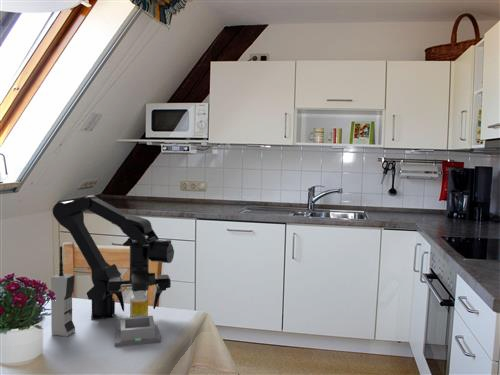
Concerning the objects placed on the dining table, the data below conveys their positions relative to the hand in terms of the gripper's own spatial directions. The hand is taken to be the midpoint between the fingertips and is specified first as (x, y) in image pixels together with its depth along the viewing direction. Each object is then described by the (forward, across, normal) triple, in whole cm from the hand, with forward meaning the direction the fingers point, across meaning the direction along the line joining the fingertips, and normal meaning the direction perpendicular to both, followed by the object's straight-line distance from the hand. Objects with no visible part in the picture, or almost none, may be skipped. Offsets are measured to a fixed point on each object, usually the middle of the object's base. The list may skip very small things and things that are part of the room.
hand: (138, 309), depth 134 cm
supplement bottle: (+3, 0, 0) cm, 3 cm away
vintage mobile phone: (+3, -21, -6) cm, 22 cm away
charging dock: (+3, -1, -13) cm, 13 cm away
